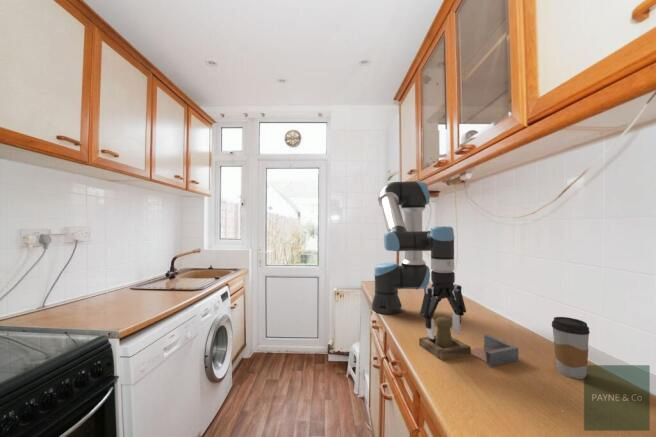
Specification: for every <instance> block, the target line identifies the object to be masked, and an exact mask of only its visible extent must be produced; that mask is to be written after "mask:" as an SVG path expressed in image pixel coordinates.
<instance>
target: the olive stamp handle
mask: <svg viewBox="0 0 656 437" xmlns="http://www.w3.org/2000/svg"><path fill="white" fill-rule="evenodd" d="M435 326H436V327H437V328H436V342H435V344H436V345H437V346H439V347H441V348H442V349H443V348H449V347H453V344H452V338H451V337H452V333H451V328H452V327H453V321H452V320H451V319H450V318H449V317H446V316H438V317H437V318H436V319H435Z"/></svg>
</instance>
